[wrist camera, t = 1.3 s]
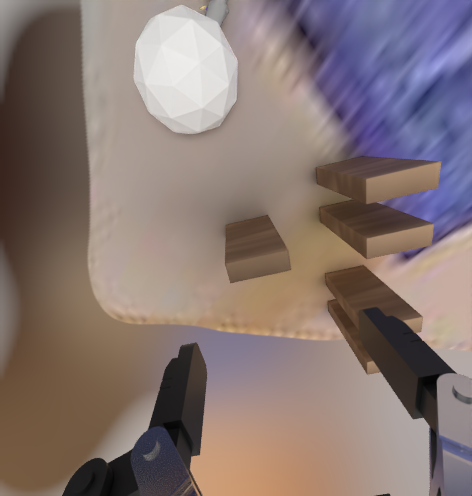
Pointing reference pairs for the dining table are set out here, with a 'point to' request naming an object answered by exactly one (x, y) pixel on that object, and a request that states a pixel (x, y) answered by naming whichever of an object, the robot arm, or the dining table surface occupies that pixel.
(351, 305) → the domino
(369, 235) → the domino
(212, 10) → the perfume bottle
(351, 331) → the domino
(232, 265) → the domino
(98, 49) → the dining table surface
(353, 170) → the domino
